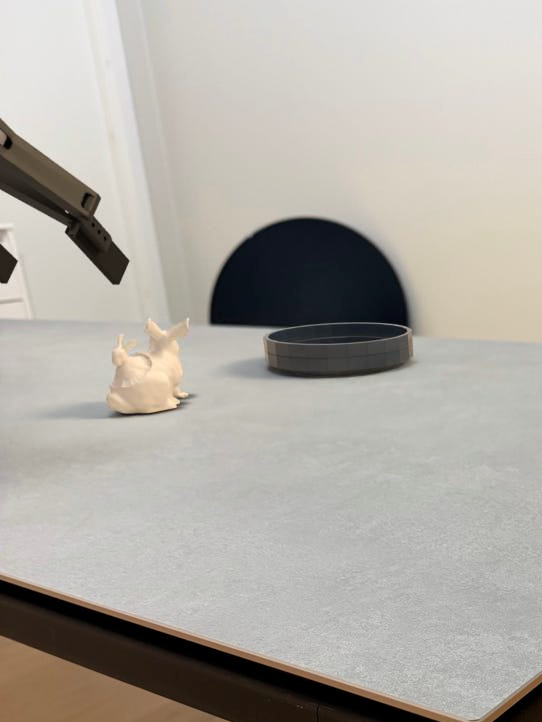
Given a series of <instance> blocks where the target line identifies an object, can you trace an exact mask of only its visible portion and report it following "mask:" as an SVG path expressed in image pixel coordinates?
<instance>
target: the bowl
mask: <svg viewBox="0 0 542 722" xmlns="http://www.w3.org/2000/svg"><path fill="white" fill-rule="evenodd" d="M413 340H414V339H413V331H412V328H410V327H408V326H405V325H401V324H396V323H395V324H394V323H382V322H333V323H318V324H308V325H307V324H306V325H299V326H292V327H285V328H281V329H277V330H274V331H273V330H272V331H270V332H267V333H266V334H264V335H263V337H262V341H263V349H264V350H263V351H264V357H265V363H266V364H267V365H268V366H270V367H272V368H275V369H278V370H279V371H281V372H283V373H286V374H291V375H298V376H309V377H341V376H357V375H365V374H373V373H378V372H379V373H380V372H384V371H388V370H392V369H396V368H397V367H400V366H402V365H403V364H404V363H405V362H407V361H410V360H411V359H413V358H414V343H413V342H414V341H413Z"/></svg>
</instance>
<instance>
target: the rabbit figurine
mask: <svg viewBox="0 0 542 722" xmlns="http://www.w3.org/2000/svg"><path fill="white" fill-rule="evenodd" d="M146 320H147V321H146V326H145V329H144V333H145V334H146V335H148V336H149V347H148V351H146V352H142V351H136V352H134V353H132V354H131V353H130V355H128V353H127V352H128V351H129V350H131V349H133V348H135V346H137V340H136V339H135V338H132V340H129V341H128V342H127V343H126V344H125V345H124V338H125V334H124V333H120V334H119V335H118V338H117V347H116V348H114V349H112V351H111V363H112V365H114V366H115V373H114V377H113V381H112V382H111V383H108V386H109V391H110V393H108V394H106V397H105V401H106V404H107V405H108V407H109V408H111V409H112V410H114V411H115V412H118V413H121V414H126V415H129V414H150V413H151V414H152V413H155V412H160V411H161V412H162V411H166V410H172V409H176V408H177V407H178V406H177V405H179V404H180V403H181V401H180V400H179V398H182V399H184V398H187V397H189V392H183V391H181V390H180V388H179V385H180V384H181V381H182V379H183V373H184V372H183V366H182V363H181V361H180V358H179V356H180V347H179V344H178V341H177V339H181V338H184V337H187V335H188V334H189V332H190V329H189V321H190V318H189V317H186V318H185V319H184V320H182V321H181V322H178V323H177V324H174V326H172V327H171V328H170V329H169V330H164V329H161V328H160V327H159V326H158V325H157V324H156V323H155V322H154V321H153V320H152V319H151V318H150V317H149V316H147V317H146ZM123 345H124V346H123Z"/></svg>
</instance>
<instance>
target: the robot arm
mask: <svg viewBox="0 0 542 722" xmlns="http://www.w3.org/2000/svg"><path fill="white" fill-rule="evenodd" d="M0 191H2V192H3V193H5V194H8V195H9V196H11V197H13V198H15V199H16V200H18V201H20V202H22V203H24V204H25V205H28V206H29V207H30V208H33V209H35V210H36V211H38V212H40V213H41V214H44V215H46V216H47V217H49V218H51V219H53V220H54V221H56V222H58V223H60V224H62V225H64V226H66V227H65V231H64V233H65V235H66V236H67V238H69V239H70V240H71V242H72V243H74V245H75V246H76V247H77V248H78V249H79V250H80V251H81V252H82V253H83V254H84V255H85V256H86V258H87V259H88V260H89V261H90V262H91V263H92V265H94V266H95V267H96V268H97V269H98V271H99V272H100V273H101V274H102V275H103V276H104V277H105V278H106V279H107V280H108V281H109V282H110V283H111V285H112V286H119V285H120V284H121V282H122V280H123V277H124V275H125V273H126V271H127V268H128V266H129V263H130V262H131V260H130V259H129V257H127V256H126V255H125V253H124V252H123V251H122V249H120V247H118V245H117V244H116V243H115V242H114V241H113V238H112V235H111V234H110V232H108V230H107V229H106V228H105V227H104V226H103V224H102V223H100V221H99V220H98V219H97V218H96V217H95V214H96V211H97V210H98V207H99V205H100V203H101V201H102V197H101V195H100V194H99V193H98V192H97V191H95V190H94V189H92V188H91V187H89V186H88V185H87V184H86V183H84V182H83V181H81V180H80V179H79V178H77V177H76V176H75V175H73V174H72V173H71V172H69V171H68V170H66V169H65V168H63V167H62V165H60V164H58V163H57V162H55V161H54V160H53V159H51V158H50V157H48V155H45V153H43V152H42V151H41V150H39V149H38V148H36V147H35V146H33V145H32V144H31V143H30V142H28V141H27V140H26V139H24V138H23V137H21V136H20V135H19V134H17V133H16V132H15V131H14V130H13V129H12V128H11V127H10V126H9V125H8V124H7V123H6V122H5V121H4V119H2V118H1V117H0ZM18 261H19V260H18V259H17V258H16V257H15V256H14V255H13V254H12V253H11V252H10V251H9V250H8V249H7V248H6V247H5V246H4V245H3V244H2V243H0V284H1V285H7V284H9V281H10V280H11V277H12V275H13V273H14V271H15V268H16V267H17V264H18Z"/></svg>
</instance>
